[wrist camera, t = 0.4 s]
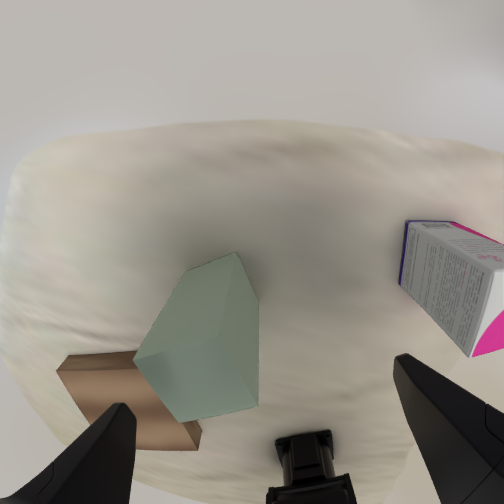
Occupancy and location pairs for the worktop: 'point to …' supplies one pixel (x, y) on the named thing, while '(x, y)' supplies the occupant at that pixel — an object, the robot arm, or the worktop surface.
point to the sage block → (205, 343)
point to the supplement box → (456, 282)
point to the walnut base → (126, 399)
